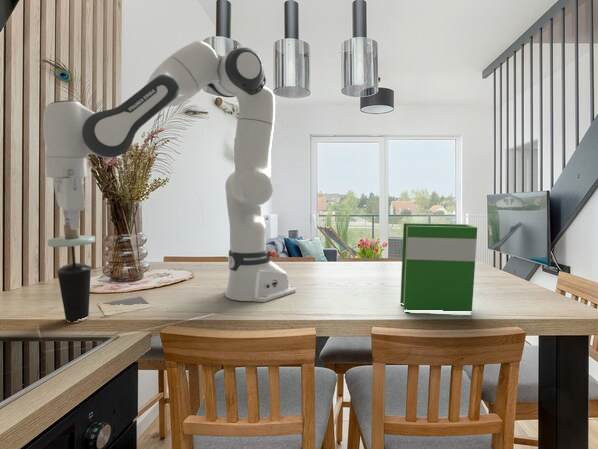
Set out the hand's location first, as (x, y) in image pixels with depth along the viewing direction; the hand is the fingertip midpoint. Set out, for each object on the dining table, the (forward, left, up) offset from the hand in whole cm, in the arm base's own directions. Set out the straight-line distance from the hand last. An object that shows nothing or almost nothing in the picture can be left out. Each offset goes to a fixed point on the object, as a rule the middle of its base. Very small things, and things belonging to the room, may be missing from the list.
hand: (71, 227), depth 92 cm
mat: (-12, -4, -24) cm, 27 cm away
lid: (0, 0, -4) cm, 4 cm away
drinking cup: (0, 0, -24) cm, 24 cm away
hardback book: (-81, +49, -24) cm, 98 cm away
